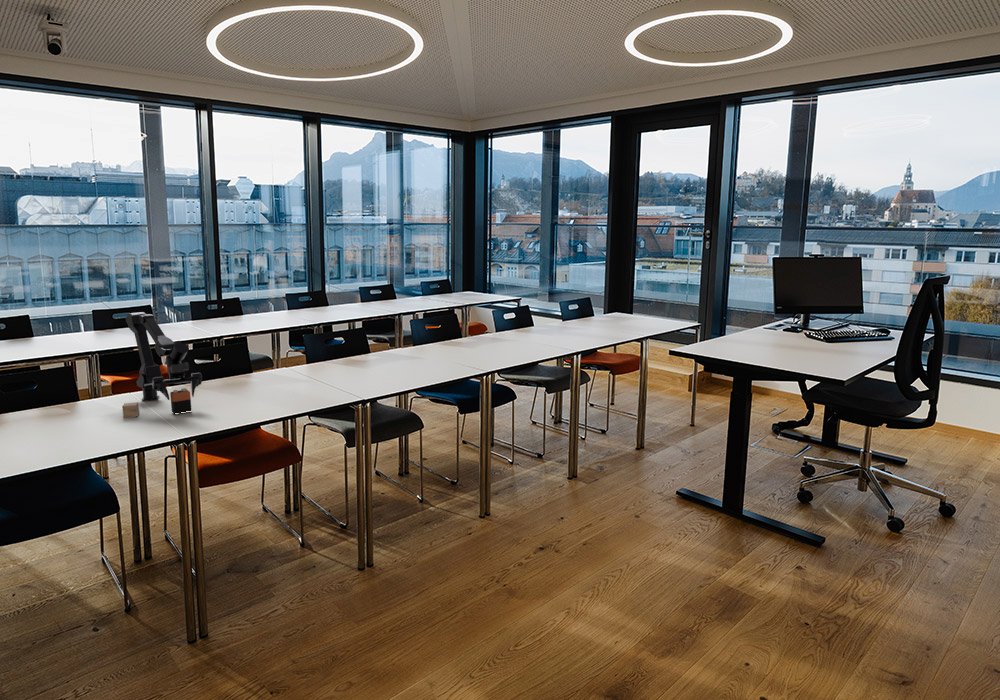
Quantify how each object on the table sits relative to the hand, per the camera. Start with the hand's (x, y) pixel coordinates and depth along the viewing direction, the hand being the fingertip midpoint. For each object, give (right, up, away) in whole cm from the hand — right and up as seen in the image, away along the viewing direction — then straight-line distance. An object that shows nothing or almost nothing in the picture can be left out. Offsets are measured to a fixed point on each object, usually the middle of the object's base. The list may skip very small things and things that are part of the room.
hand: (181, 397), depth 281 cm
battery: (-1, -7, +2) cm, 7 cm away
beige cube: (-19, -7, -3) cm, 21 cm away
